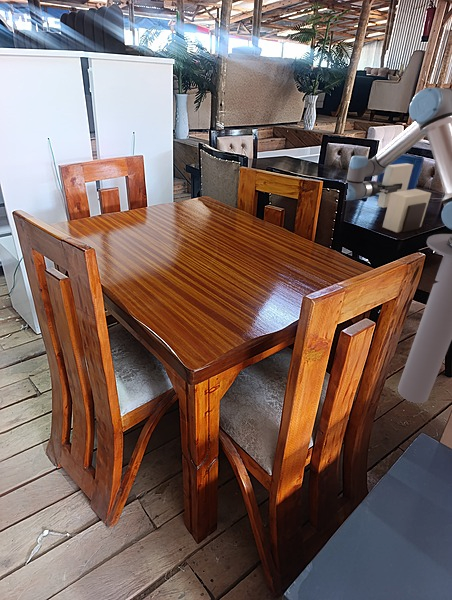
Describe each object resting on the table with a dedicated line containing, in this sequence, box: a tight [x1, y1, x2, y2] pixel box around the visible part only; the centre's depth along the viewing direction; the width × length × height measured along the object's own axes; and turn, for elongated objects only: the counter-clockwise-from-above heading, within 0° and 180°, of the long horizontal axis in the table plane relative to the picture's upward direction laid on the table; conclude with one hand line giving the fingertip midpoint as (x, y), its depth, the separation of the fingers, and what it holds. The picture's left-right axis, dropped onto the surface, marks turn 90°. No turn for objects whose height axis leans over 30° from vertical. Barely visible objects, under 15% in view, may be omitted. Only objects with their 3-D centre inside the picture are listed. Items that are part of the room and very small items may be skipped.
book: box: [374, 152, 425, 198], centre depth 223 cm, size 22×7×25 cm, turn 58°
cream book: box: [376, 163, 413, 209], centre depth 202 cm, size 4×16×20 cm, turn 123°
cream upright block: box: [382, 188, 432, 233], centre depth 182 cm, size 9×18×16 cm, turn 122°
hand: (397, 185), depth 203 cm, fingers closed on cream book, 4 cm apart
